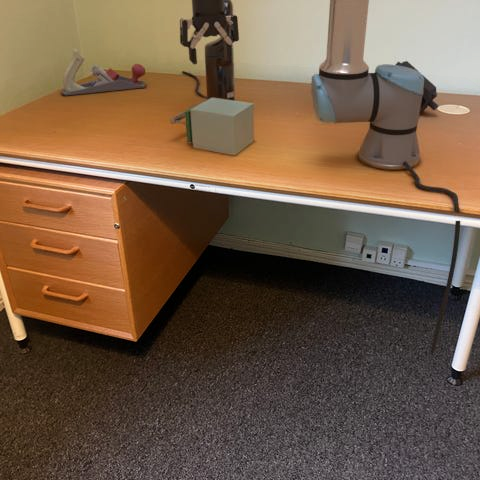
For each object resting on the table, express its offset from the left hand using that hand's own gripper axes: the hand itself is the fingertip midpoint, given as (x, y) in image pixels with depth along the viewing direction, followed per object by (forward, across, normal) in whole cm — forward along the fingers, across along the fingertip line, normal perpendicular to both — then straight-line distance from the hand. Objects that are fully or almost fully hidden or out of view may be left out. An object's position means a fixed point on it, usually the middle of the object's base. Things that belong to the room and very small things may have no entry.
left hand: (210, 61), depth 132 cm
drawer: (+23, 0, -9) cm, 25 cm away
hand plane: (+25, +18, -74) cm, 80 cm away
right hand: (-10, -43, -29) cm, 53 cm away
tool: (+25, -68, -9) cm, 73 cm away
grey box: (+24, -4, -5) cm, 25 cm away
